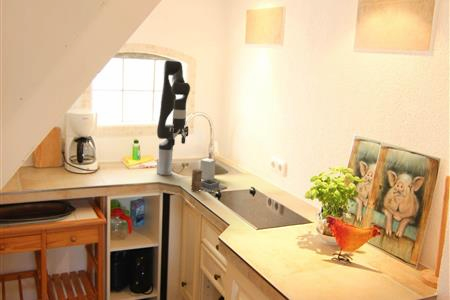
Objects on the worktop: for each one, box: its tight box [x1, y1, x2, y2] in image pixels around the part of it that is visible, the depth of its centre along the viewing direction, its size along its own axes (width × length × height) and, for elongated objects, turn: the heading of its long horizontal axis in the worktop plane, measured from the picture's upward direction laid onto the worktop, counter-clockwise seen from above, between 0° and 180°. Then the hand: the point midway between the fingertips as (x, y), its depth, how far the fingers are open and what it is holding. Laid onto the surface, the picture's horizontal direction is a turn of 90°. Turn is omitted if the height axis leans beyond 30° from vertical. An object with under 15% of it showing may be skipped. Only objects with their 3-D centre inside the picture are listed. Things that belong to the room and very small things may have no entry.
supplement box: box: [199, 157, 216, 180], centre depth 311 cm, size 7×7×13 cm
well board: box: [190, 179, 228, 193], centre depth 293 cm, size 16×16×3 cm
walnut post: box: [190, 168, 202, 192], centre depth 283 cm, size 4×4×13 cm
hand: (177, 144), depth 276 cm, fingers open, 8 cm apart
